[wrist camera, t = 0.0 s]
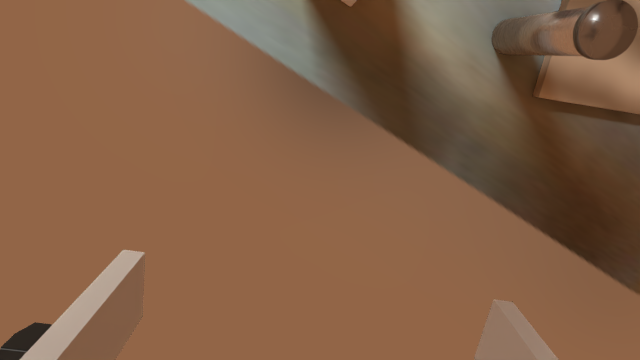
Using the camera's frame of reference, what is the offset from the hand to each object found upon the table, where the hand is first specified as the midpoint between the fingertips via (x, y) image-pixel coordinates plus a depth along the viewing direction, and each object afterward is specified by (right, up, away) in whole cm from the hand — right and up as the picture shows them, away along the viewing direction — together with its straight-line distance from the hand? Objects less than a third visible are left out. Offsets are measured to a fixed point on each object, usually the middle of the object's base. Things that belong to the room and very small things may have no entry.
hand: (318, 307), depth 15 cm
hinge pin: (+18, +18, +24) cm, 35 cm away
